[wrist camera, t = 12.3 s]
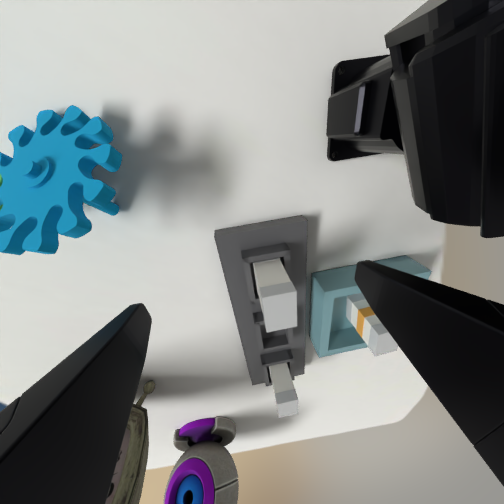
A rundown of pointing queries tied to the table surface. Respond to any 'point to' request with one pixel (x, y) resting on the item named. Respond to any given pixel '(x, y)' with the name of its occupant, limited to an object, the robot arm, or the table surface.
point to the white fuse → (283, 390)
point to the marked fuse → (369, 325)
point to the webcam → (204, 464)
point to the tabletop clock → (132, 456)
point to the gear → (54, 180)
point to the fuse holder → (247, 299)
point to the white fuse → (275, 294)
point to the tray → (343, 305)
